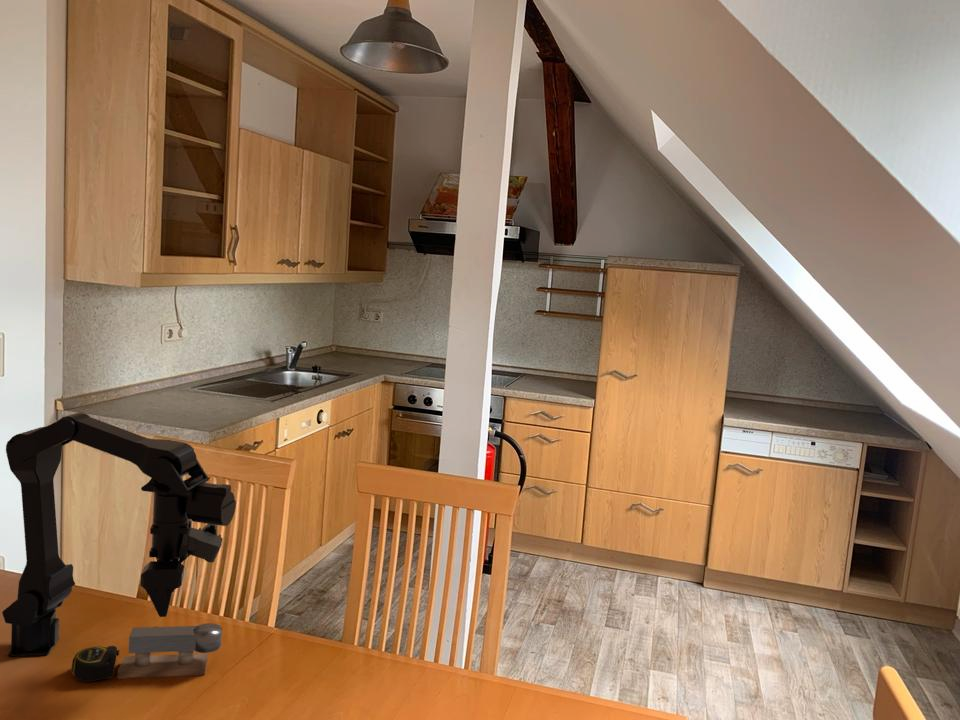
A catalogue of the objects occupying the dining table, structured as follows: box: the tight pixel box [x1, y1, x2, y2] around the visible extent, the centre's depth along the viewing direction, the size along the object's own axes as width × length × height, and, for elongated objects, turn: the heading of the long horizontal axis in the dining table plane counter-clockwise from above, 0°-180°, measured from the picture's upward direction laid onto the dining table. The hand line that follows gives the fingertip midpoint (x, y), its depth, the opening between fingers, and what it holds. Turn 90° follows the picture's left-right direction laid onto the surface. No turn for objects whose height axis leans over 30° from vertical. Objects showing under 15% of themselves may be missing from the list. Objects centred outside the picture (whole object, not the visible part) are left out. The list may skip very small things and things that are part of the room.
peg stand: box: [117, 651, 209, 679], centre depth 134 cm, size 14×5×4 cm, turn 105°
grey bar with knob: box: [128, 622, 223, 654], centre depth 134 cm, size 15×5×3 cm, turn 105°
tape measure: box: [71, 645, 120, 682], centre depth 130 cm, size 7×7×4 cm
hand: (166, 603), depth 133 cm, fingers open, 9 cm apart
